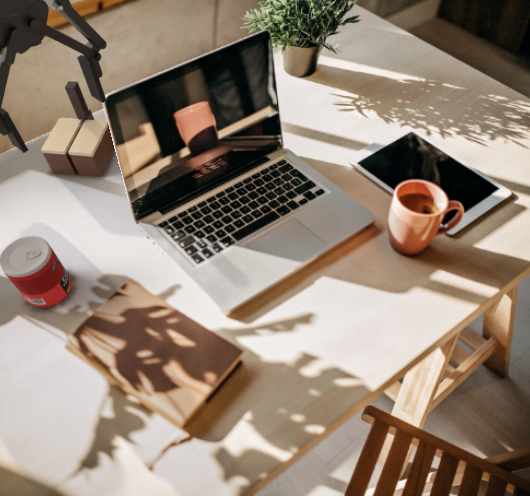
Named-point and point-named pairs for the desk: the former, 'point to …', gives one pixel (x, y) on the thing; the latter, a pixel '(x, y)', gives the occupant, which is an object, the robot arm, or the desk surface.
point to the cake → (79, 147)
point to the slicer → (78, 102)
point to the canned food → (36, 271)
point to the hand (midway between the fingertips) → (61, 122)
